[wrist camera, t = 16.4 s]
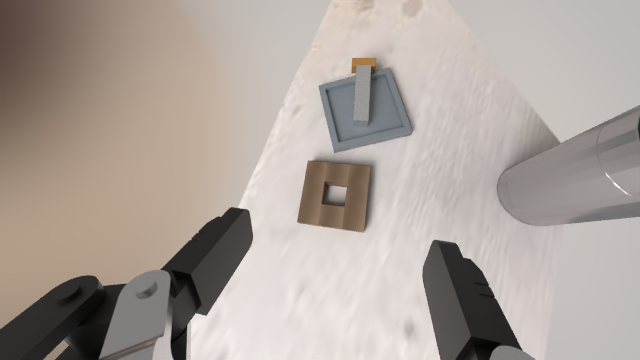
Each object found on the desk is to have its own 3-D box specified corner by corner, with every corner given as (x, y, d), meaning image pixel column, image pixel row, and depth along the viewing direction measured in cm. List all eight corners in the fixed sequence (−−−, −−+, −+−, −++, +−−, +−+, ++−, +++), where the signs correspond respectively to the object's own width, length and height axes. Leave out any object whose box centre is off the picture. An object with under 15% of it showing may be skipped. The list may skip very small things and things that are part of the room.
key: (371, 127, 38) (374, 66, 40) (373, 120, 36) (376, 56, 38) (348, 126, 39) (351, 66, 41) (348, 120, 36) (352, 56, 38)
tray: (387, 73, 42) (389, 67, 40) (410, 134, 38) (412, 130, 36) (319, 91, 42) (318, 85, 41) (334, 152, 38) (333, 149, 37)
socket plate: (369, 170, 37) (370, 166, 35) (363, 232, 34) (364, 231, 32) (310, 164, 38) (308, 160, 37) (300, 223, 36) (297, 222, 34)
